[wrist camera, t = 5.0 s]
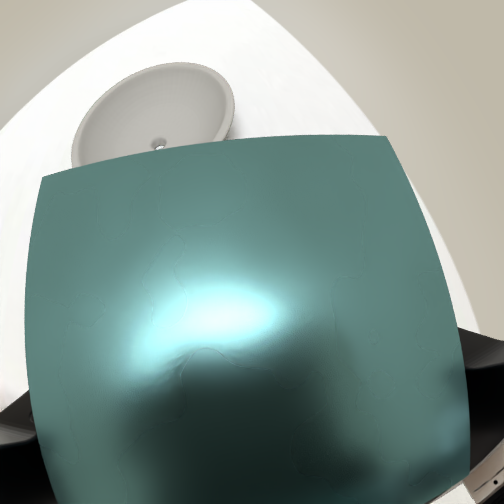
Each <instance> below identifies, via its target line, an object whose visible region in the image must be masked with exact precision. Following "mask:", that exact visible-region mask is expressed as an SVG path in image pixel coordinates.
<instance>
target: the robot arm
mask: <svg viewBox="0 0 504 504" xmlns="http://www.w3.org/2000/svg"><path fill="white" fill-rule="evenodd" d="M457 328H458V333H459V338H460V343H461V349H462V355H463V361H464V368H465V375H466V383H467V392H468V403H469V419H470V473H469V475H468V476H467V477H465V478H464V479H463V480H461V481H460V482H458V483H457V484H455V485H454V486H452V487H451V488H449V489H448V490H446V491H444V492H443V493H441V494H440V495H438V496H436V497H435V498H433V499H431V500H430V501H428V502H426V503H424V504H430V503H432V502H434V501H436V500H437V499H439V498H440V497H442V496H444V495H445V494H447V493H448V492H450V491H452V490H453V489H455V488H456V487H458V486H459V485H460V484H462V483H463V484H464V486H465V487H466V489H467V491H468V493H469V494H470V496H471V498H472V499H474V501H475V503H476V504H504V341H501V340H497V339H493V338H490V337H487V336H483V335H481V334H477V333H474V332H471V331H468V330H465V329H462V328H459V327H457ZM0 504H58V502H57V500H56V497H55V494H54V491H53V489H52V486H51V483H50V480H49V477H48V474H47V470H46V467H45V464H44V460H43V456H42V453H41V449H40V445H39V441H38V437H37V432H36V427H35V422H34V417H33V412H32V406H31V399H30V392H29V390H28V391H27V392H26V393H24V394H23V395H22V396H21V397H19V398H18V399H17V400H16V401H14V402H13V403H12V404H10V405H9V406H8V407H7V408H5V409H4V410H3V411H2V412H0Z"/></svg>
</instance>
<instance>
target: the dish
mask: <svg viewBox="0 0 504 504" xmlns="http://www.w3.org/2000/svg"><path fill="white" fill-rule="evenodd" d="M234 109H235V103H234V96H233V93H232V90H231V88H230V86H229V84H228V82H227V81H226V80H225V79H224V78H223V77H222V76H221V75H220V74H219V73H217V72H216V71H214V70H212V69H211V68H208V67H206V66H203V65H199V64H195V63H185V62H175V63H166V64H161V65H156V66H153V67H149V68H146V69H144V70H141V71H139V72H136V73H134V74H132V75H130V76H128V77H127V78H125V79H123V80H122V81H120V82H118V83H117V84H116V85H114V86H113V87H111V88H110V89H109V90H108V91H107V92H105V93H104V94H103V95H102V96H101V97H100V98H99V99H98V100H97V101H96V102H95V103H94V104H93V106H92V107H91V108H90V109H89V111H88V112H87V113H86V115H85V117H84V118H83V120H82V121H81V123H80V125H79V127H78V130H77V132H76V134H75V137H74V141H73V145H72V152H71V162H72V168H76V167H80V166H84V165H88V164H92V163H96V162H100V161H104V160H109V159H113V158H118V157H122V156H127V155H132V154H137V153H143V152H148V151H154V150H155V148H156V147H158V146H160V145H164V146H165V147H163V148H162V149H165V148H171V147H178V146H185V145H192V144H199V143H207V142H216V141H223V140H224V139H225V137H226V135H227V133H228V131H229V129H230V126H231V123H232V120H233V116H234Z"/></svg>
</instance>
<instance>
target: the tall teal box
mask: <svg viewBox="0 0 504 504" xmlns="http://www.w3.org/2000/svg"><path fill="white" fill-rule="evenodd" d="M25 351H26V365H27V376H28V385H29V392H30V399H31V406H32V412H33V417H34V422H35V427H36V432H37V437H38V441H39V445H40V449H41V453H42V456H43V460H44V464H45V467H46V470H47V474H48V477H49V480H50V483H51V486H52V489H53V491H54V494H55V497H56V500H57V502H58V504H424V503H426V502H428V501H430V500H431V499H433V498H435V497H436V496H438V495H440V494H441V493H443V492H444V491H446V490H448V489H449V488H451V487H452V486H454V485H455V484H457V483H458V482H460V481H461V480H463V479H464V478H465V477H467V476H468V475H469V473H470V419H469V403H468V392H467V383H466V375H465V368H464V361H463V355H462V349H461V343H460V338H459V333H458V328H457V323H456V319H455V314H454V310H453V306H452V302H451V298H450V294H449V290H448V287H447V283H446V280H445V276H444V273H443V270H442V266H441V263H440V260H439V257H438V254H437V251H436V248H435V245H434V242H433V239H432V237H431V234H430V231H429V229H428V226H427V223H426V221H425V218H424V216H423V213H422V211H421V208H420V206H419V203H418V201H417V199H416V196H415V194H414V192H413V189H412V187H411V185H410V183H409V181H408V178H407V176H406V174H405V172H404V170H403V168H402V166H401V164H400V162H399V160H398V158H397V156H396V154H395V152H394V150H393V148H392V146H391V144H390V142H389V141H388V139H387V137H386V136H372V135H294V136H274V137H258V138H246V139H235V140H225V141H216V142H207V143H199V144H192V145H185V146H178V147H171V148H165V149H159V150H154V151H148V152H143V153H137V154H132V155H127V156H122V157H118V158H113V159H109V160H104V161H100V162H96V163H92V164H88V165H84V166H80V167H76V168H72V169H68V170H65V171H61V172H58V173H54V174H51V175H48V176H44V177H42V181H41V185H40V189H39V194H38V198H37V203H36V208H35V213H34V219H33V224H32V230H31V237H30V244H29V252H28V262H27V272H26V287H25Z"/></svg>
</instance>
